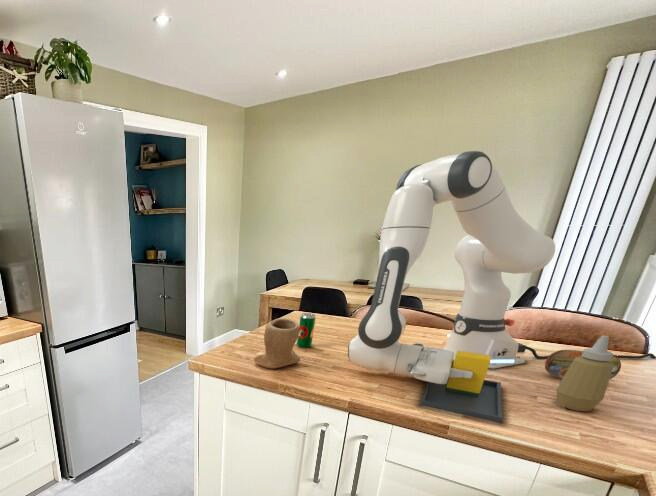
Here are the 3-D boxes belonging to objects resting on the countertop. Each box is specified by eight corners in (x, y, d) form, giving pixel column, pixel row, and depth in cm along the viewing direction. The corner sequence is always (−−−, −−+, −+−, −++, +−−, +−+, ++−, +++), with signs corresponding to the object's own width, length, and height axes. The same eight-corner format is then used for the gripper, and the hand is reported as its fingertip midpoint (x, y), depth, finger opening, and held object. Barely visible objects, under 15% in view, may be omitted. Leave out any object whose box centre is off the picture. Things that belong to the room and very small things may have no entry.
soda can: (312, 348, 143) (317, 315, 139) (297, 348, 144) (302, 315, 139) (309, 344, 148) (314, 312, 143) (295, 343, 149) (299, 312, 144)
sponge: (446, 384, 110) (457, 350, 106) (478, 390, 106) (490, 355, 102) (445, 390, 107) (456, 355, 103) (478, 396, 103) (490, 360, 99)
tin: (543, 377, 115) (554, 349, 111) (538, 373, 117) (549, 346, 114) (614, 384, 109) (628, 355, 106) (607, 380, 112) (620, 352, 108)
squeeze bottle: (541, 400, 101) (570, 332, 94) (570, 398, 102) (601, 330, 94) (576, 415, 94) (609, 342, 87) (607, 413, 94) (643, 340, 87)
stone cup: (273, 374, 121) (278, 327, 115) (248, 363, 131) (252, 318, 125) (310, 366, 127) (317, 320, 121) (283, 355, 137) (289, 312, 131)
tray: (430, 376, 117) (431, 370, 117) (498, 388, 108) (500, 382, 108) (419, 407, 99) (420, 400, 99) (500, 425, 90) (502, 418, 89)
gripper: (407, 360, 103) (475, 371, 95) (418, 341, 118) (477, 349, 109) (402, 383, 105) (467, 395, 97) (413, 361, 120) (470, 371, 112)
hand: (472, 371), depth 104 cm, fingers closed on sponge, 4 cm apart
